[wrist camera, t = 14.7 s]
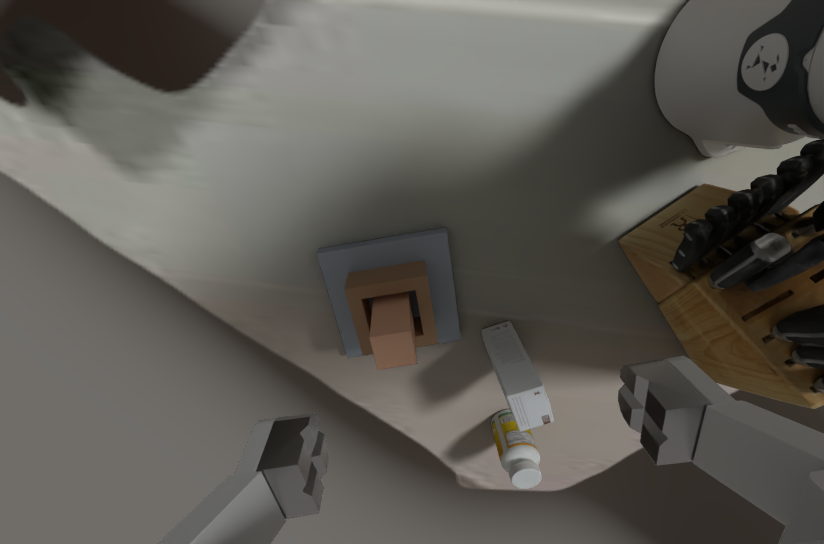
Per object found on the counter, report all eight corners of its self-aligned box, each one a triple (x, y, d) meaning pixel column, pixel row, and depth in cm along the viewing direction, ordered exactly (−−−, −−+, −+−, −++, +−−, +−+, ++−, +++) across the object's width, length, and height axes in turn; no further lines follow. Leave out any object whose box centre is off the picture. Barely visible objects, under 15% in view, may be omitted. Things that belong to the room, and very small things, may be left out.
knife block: (673, 106, 39) (1347, 155, 11) (771, 324, 52) (1202, 598, 24) (576, 176, 42) (930, 352, 14) (692, 367, 55) (997, 656, 27)
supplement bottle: (506, 402, 56) (527, 459, 48) (532, 417, 58) (556, 475, 49) (482, 423, 58) (497, 482, 50) (508, 438, 60) (526, 497, 51)
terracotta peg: (407, 282, 45) (410, 331, 36) (412, 310, 47) (417, 363, 38) (374, 287, 45) (369, 337, 36) (381, 316, 47) (377, 369, 38)
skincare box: (479, 329, 50) (502, 396, 40) (511, 318, 50) (544, 383, 39) (491, 363, 53) (516, 434, 42) (522, 353, 52) (556, 423, 42)
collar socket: (445, 227, 44) (451, 245, 39) (459, 333, 51) (466, 359, 46) (318, 248, 45) (309, 269, 40) (348, 350, 51) (343, 378, 46)
